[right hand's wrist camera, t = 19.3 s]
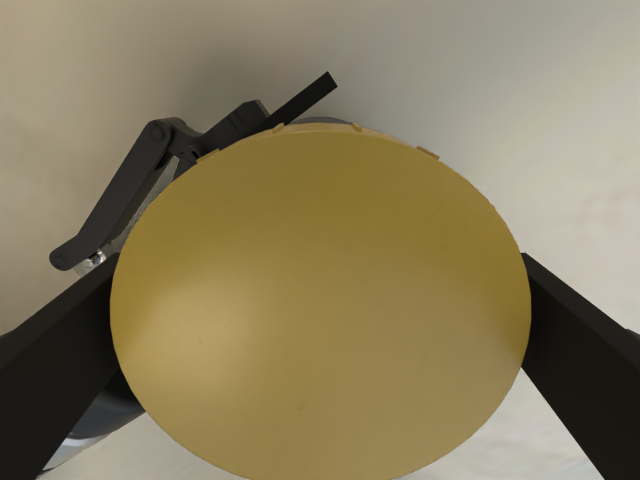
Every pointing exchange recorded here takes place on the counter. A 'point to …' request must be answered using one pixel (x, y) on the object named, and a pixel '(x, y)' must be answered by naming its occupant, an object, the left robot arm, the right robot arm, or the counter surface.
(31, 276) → the counter surface
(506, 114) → the counter surface
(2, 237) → the counter surface
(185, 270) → the lid
